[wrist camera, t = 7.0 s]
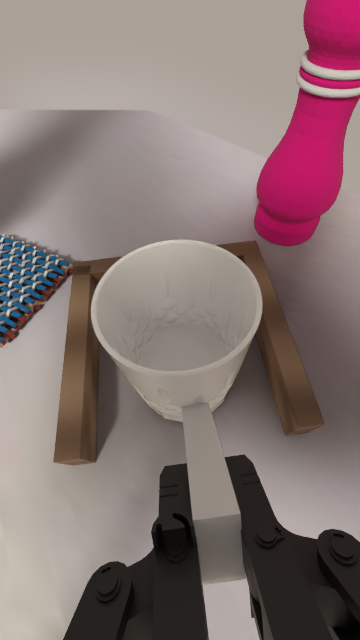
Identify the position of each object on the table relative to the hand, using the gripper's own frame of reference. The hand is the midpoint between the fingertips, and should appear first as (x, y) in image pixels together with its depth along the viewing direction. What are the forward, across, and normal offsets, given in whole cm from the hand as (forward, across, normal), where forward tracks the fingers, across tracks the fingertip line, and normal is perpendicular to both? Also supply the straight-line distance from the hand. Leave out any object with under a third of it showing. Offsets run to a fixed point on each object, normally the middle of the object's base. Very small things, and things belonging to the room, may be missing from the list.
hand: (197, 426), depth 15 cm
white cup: (+6, 0, 0) cm, 6 cm away
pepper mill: (+17, +12, +11) cm, 24 cm away
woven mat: (+15, -17, +7) cm, 23 cm away
